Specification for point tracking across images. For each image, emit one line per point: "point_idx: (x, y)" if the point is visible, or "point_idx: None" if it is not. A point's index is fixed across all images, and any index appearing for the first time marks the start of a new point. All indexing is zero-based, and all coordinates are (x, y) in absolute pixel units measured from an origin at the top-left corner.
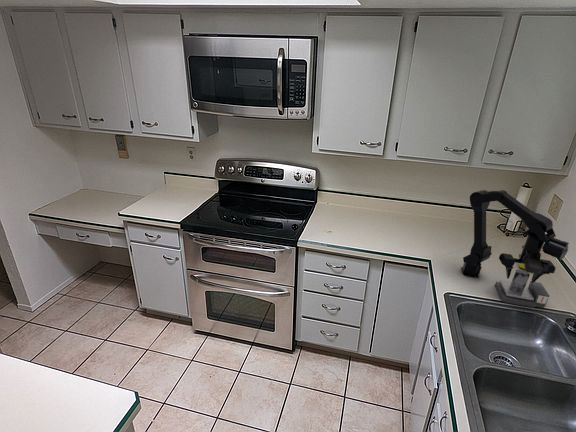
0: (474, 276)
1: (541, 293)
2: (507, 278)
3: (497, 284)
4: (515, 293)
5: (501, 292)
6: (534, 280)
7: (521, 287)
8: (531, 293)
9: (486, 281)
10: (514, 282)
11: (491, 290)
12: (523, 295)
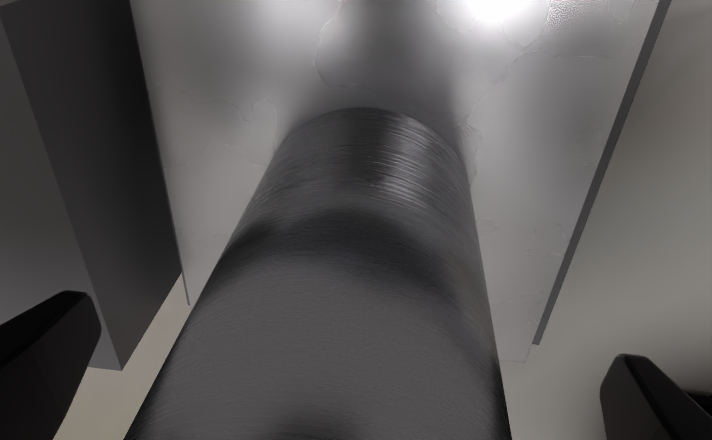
0: (704, 402)
1: None
2: (646, 359)
3: (556, 294)
4: (452, 49)
5: (620, 113)
6: (4, 344)
7: (336, 162)
8: (147, 165)
9: (588, 349)
10: (480, 268)
11: (641, 200)
12: (309, 14)
